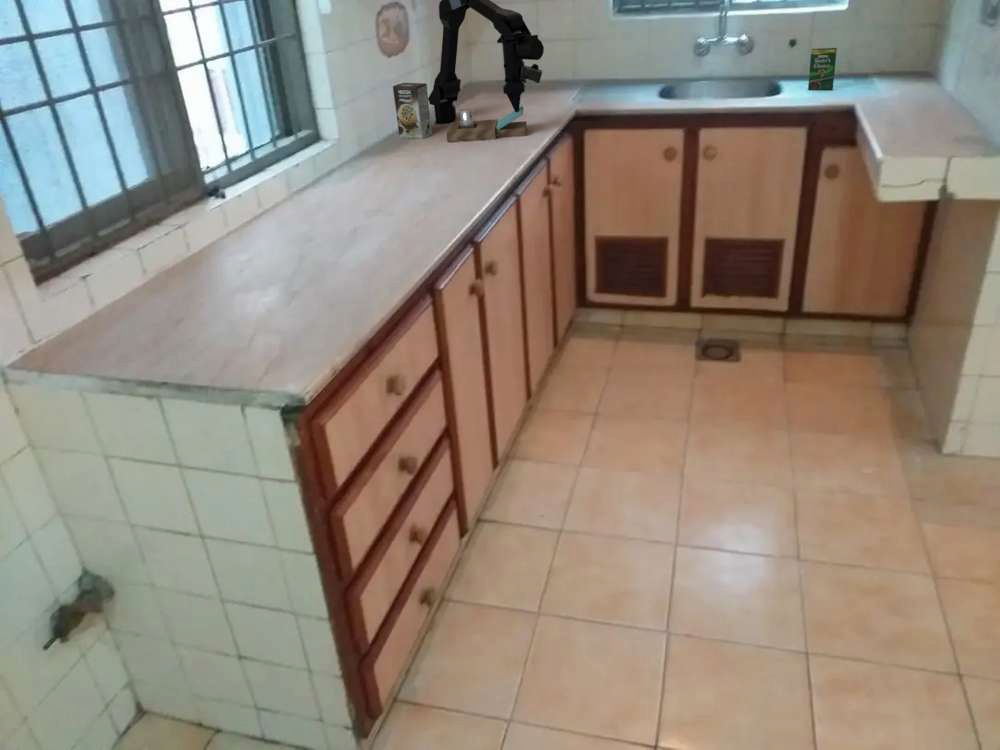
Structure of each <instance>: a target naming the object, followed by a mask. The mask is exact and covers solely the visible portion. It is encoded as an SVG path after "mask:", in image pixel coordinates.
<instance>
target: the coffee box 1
mask: <svg viewBox="0 0 1000 750" xmlns="http://www.w3.org/2000/svg"><path fill="white" fill-rule="evenodd" d="M392 89H393V90H392V91H393V98H394V108H395V115H396V120H397V129H398V137H399V138H400V139H412V138H415V139H416V138H418V139H416V140H424V139H426V138H427V136H428V137H430V136H432V135H433V132H432V124H431V123H432V122H431V113H430V103H429V100H428V98H429V95H428V94H429V93H428V84H427V83H424V82H423V83H422V82H420V83H419V82H401V83H398V84H395V85H393V86H392ZM429 135H430V136H429ZM425 137H426V138H425ZM423 138H424V139H423ZM415 139H414V140H415Z"/></svg>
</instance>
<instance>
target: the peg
mask: <svg viewBox="0 0 1000 750" xmlns="http://www.w3.org/2000/svg"><path fill="white" fill-rule="evenodd" d="M459 113H460V122H461V126H462V129H466V128H474V121H475V120H474V110H473V108H462V109H460V110H459Z"/></svg>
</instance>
